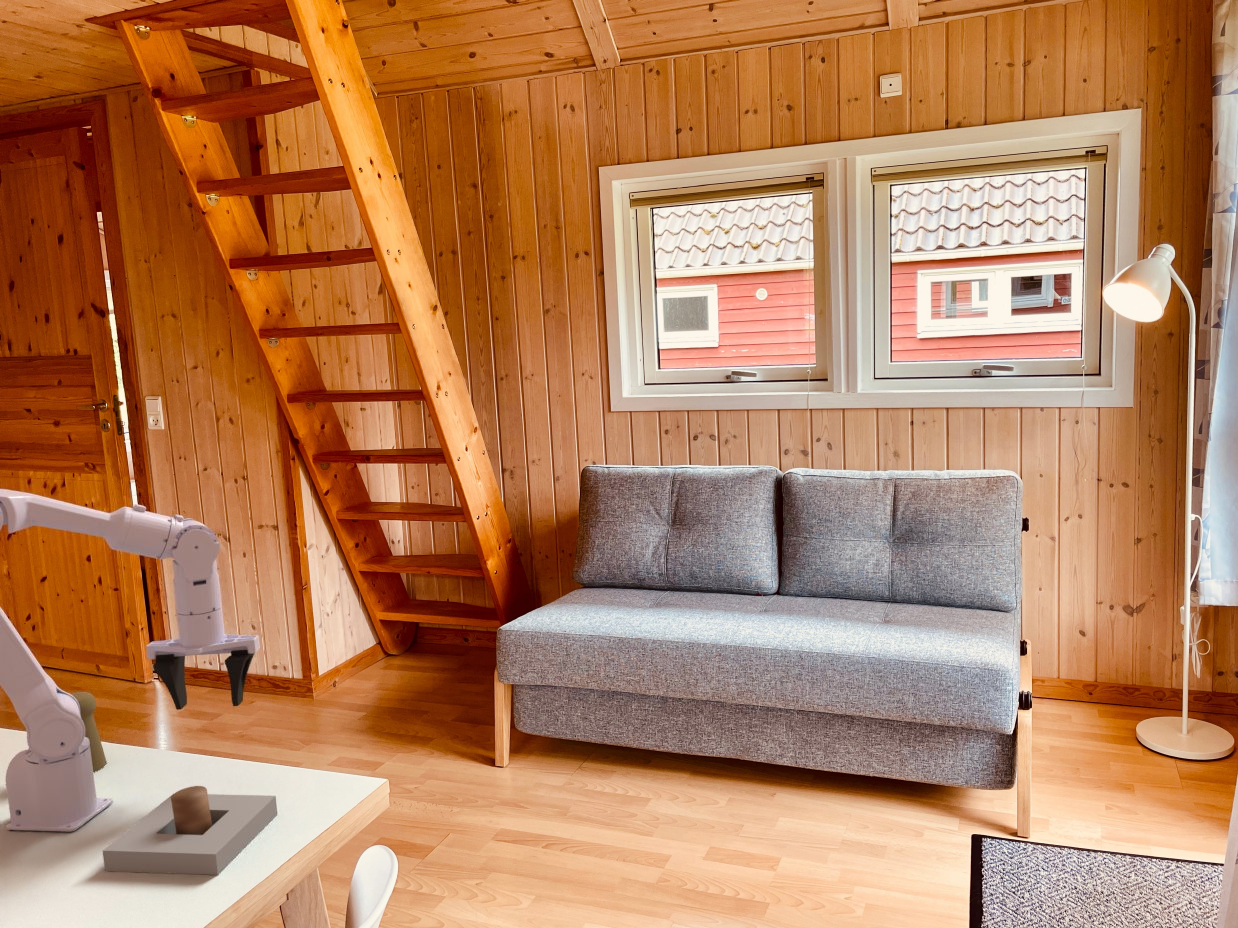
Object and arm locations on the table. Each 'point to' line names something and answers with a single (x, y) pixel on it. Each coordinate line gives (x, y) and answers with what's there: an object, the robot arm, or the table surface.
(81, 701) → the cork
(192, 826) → the wooden peg
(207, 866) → the socket block
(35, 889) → the table surface
